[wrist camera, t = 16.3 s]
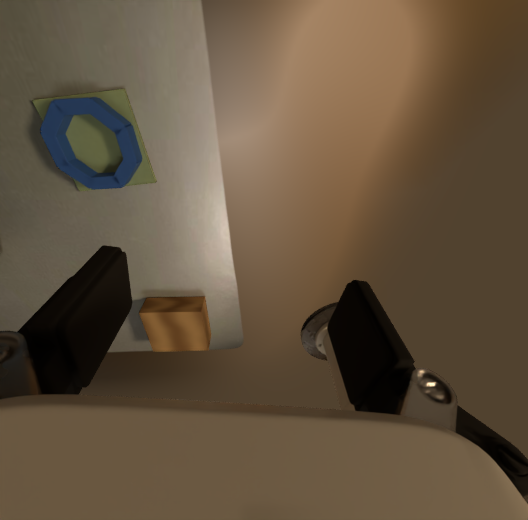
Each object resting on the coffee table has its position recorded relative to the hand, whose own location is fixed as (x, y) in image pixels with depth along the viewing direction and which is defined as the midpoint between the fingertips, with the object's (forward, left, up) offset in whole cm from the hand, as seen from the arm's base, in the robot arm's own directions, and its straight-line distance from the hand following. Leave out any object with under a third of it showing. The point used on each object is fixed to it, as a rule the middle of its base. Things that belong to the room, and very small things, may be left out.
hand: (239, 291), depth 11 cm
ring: (+15, +12, -28) cm, 34 cm away
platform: (-10, +33, -28) cm, 45 cm away
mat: (+15, +12, -28) cm, 34 cm away
